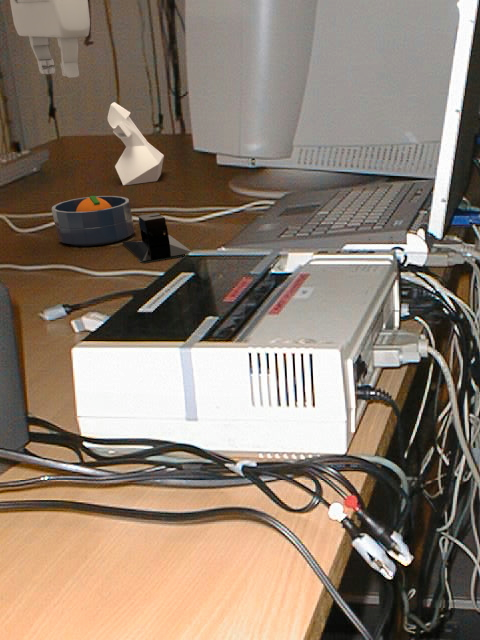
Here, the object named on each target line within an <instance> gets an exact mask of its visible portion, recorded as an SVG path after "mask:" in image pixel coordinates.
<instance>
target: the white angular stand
mask: <svg viewBox="0 0 480 640" xmlns="http://www.w3.org/2000/svg"><path fill="white" fill-rule="evenodd" d="M130 115H131V112H130V111H129V110H127V109H126V108H124V107H123V106H121V105H120V104H118V103H117V102H116V101H114V102H112V103H111V104H110V105H109V109H108V114H107V123H108V124H109V126H110V127H111V129H112V133H113V134H114V135H115V136H116V137H117V138H118V139H119V140H121V142H122V143H123V144H124V146H125V149H124V150H123V152H122V153H121V155H120V156H119V158H118V160H117V162H116V163H115V165H114V168H115V170H116V172H117V175H118V177H119V179H120V182H121V183H122V186H130V185H136V184H138V185H139V184H146V183H153V182H158V180H159V178H160V177H161V175H162V169H163V164H164V158H165V155H164V154H163V153H162V152H160V151H159V150H158V149H157V148H156V147H155V146H153V145H152V144H151V143H149V141H148V140H147V139H146V137H145V136H144V135H143V133H142V132H141V131H140V129H139V128H138V127H137V125H136V124H135V122H133V119H131V117H130Z"/></svg>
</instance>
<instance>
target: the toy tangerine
mask: <svg viewBox="0 0 480 640" xmlns="http://www.w3.org/2000/svg"><path fill="white" fill-rule="evenodd" d="M96 196H97V195H94V194H93V195H90V196H89V197H90V198H87V199H84V200H83V201H82V202H81V203H80V204H79V205H78V207H77V210H76V212H85V211H96V210H102V209H108V208H112V207H111V205H110V204H109V203H108V202H107V201H105V200H103V199H101V198H98V197H96Z"/></svg>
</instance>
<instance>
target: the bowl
mask: <svg viewBox="0 0 480 640" xmlns="http://www.w3.org/2000/svg"><path fill="white" fill-rule="evenodd" d="M95 196H96V197H98V198H101V199H103V200H105V201H107V202H108V203H109V204H110V205H111V207H112V208H108V209H102V210H96V211H85V212H76V210H77V207H78V205H79V204H80V203H81V202H82V201H83V200H84V199H87V198H90V196H85V197H78V198H73V199H69V200H64V201H61V202H58V203H56V204H54V205H52V207H51V214H52V219H53V221H54V227H55V232H56V235H57V239H58V240H57V241H59V242H61V243H63V244H68V245H70V246H75V247H94V246H95V247H96V246H104V245H110V244H114V243H118V242H121V241H123V240H125V239H127V238H128V237H130V236H132V235H134V234H135V224H134V220H133V213H132V208H131V203H130V199H129V198H127V197H125V196H117V195H98V196H97V195H95Z"/></svg>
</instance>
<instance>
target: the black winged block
mask: <svg viewBox="0 0 480 640" xmlns="http://www.w3.org/2000/svg"><path fill="white" fill-rule="evenodd" d="M137 217H138V225H139V231H140V236H141V238H139V239H134V240H128V241H126V240H125V241H122V245H123V246H124V247H125V248H126V249H127V250H128V251H129V252H130V253H132V254H133V256H135V257H136V259H137V261H138V262H139V263H141V264H147V263H154V262H160V261H165V259H166V260H171V258H172V259H177V257H178V258H182V256H183V255H185V254H186V253H187V252H189V251H192V250H191V249H190V248H188V247H186V246H185V245H184V244H183V243H181V242H180V241H178V240H177V239H175V238H174V236H172V235H170V234H169V231H168V225H167V222H166V217H165V216H164V215H161V214H160V213H159V212H155V213H148V214H142V215H138V216H137ZM179 256H180V257H179ZM159 260H160V261H159Z"/></svg>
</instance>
